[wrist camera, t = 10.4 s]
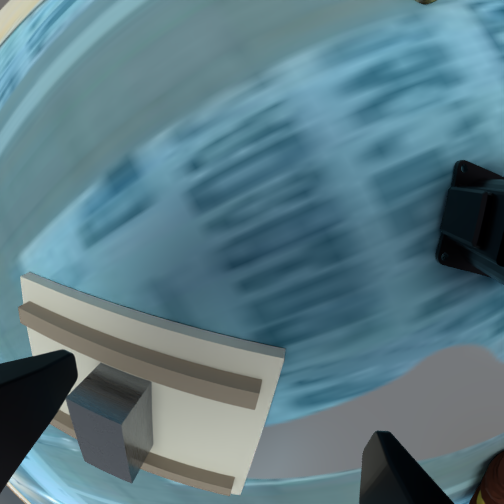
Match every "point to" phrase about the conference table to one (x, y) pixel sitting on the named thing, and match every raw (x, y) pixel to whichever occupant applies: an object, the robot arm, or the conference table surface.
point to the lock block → (113, 420)
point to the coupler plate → (165, 380)
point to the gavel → (491, 484)
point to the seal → (425, 1)
